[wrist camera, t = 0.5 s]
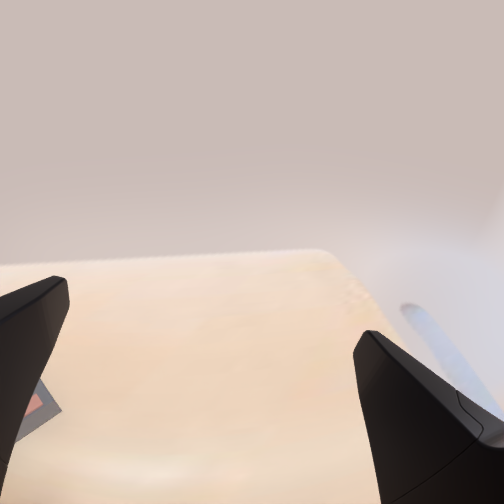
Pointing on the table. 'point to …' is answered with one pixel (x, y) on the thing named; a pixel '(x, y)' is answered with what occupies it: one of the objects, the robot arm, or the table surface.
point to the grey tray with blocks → (38, 410)
